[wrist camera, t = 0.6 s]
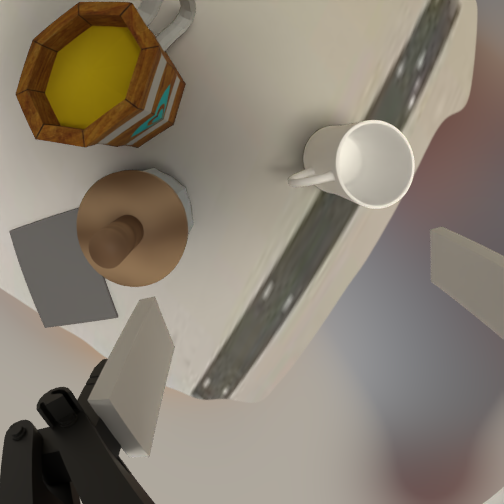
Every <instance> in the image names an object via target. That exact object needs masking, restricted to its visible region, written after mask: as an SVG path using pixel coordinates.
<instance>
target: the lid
mask: <svg viewBox="0 0 504 504" xmlns="http://www.w3.org/2000/svg"><path fill="white" fill-rule="evenodd" d="M77 237H78V241H79V244H80V247H81V250H82V252H83V254H84V256H85V258H86V259H87V261H88V262H89V263H90V265H91V266H92V267H93V268H94V269H95V270H96V271H97V272H98V273H99V274H100V275H102V276H103V277H105V278H106V279H108V280H110V281H112V282H114V283H117V284H120V285H124V286H130V287H140V286H146V285H150V284H153V283H155V282H158V281H159V280H161V279H163V278H164V277H166V276H167V275H168V274H169V273H170V272H171V271H172V270H173V269H174V268H175V267H176V265H177V264H178V262H179V260H180V258H181V257H182V254H183V252H184V250H185V247H186V243H187V239H188V220H187V215H186V212H185V208H184V206H183V204H182V202H181V200H180V198H179V197H178V195H177V194H176V192H175V191H174V190H173V189H172V188H171V187H170V186H169V185H168V184H167V183H166V182H165V181H163V180H162V179H161V178H159V177H157V176H155V175H153V174H151V173H148V172H144V171H140V170H124V171H120V172H115V173H112V174H109V175H107V176H105V177H103V178H101V179H100V180H98V181H97V182H96V183H95V184H94V185H93V186H92V187H91V188H90V189H89V190H88V191H87V193H86V194H85V196H84V198H83V199H82V202H81V204H80V207H79V210H78V214H77Z"/></svg>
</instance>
